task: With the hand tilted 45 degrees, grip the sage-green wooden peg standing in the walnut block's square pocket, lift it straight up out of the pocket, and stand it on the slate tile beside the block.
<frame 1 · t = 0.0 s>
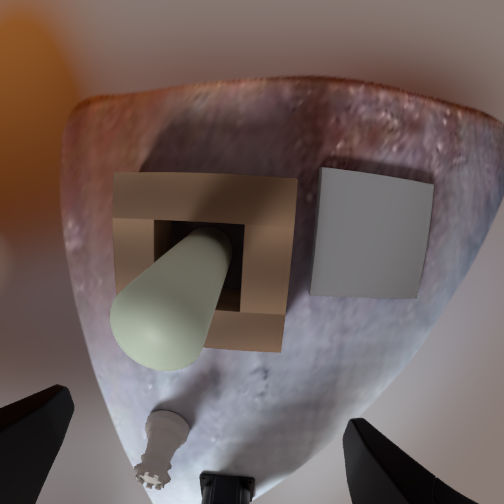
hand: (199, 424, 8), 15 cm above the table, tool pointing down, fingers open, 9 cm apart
walnut pocket block: (207, 251, 22), on the table
sage peg: (189, 277, 16), in the walnut pocket block
rook chess piece: (169, 421, 26), on the table
slate tile: (372, 235, 21), on the table
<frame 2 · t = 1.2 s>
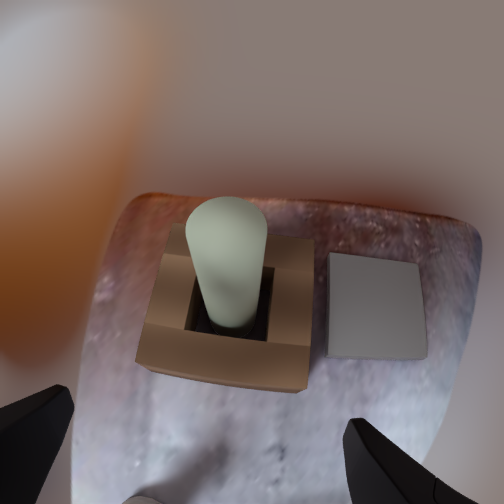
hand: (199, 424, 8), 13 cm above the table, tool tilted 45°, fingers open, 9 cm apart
walnut pocket block: (232, 317, 23), on the table
sage peg: (230, 285, 18), in the walnut pocket block
slate tile: (375, 309, 24), on the table
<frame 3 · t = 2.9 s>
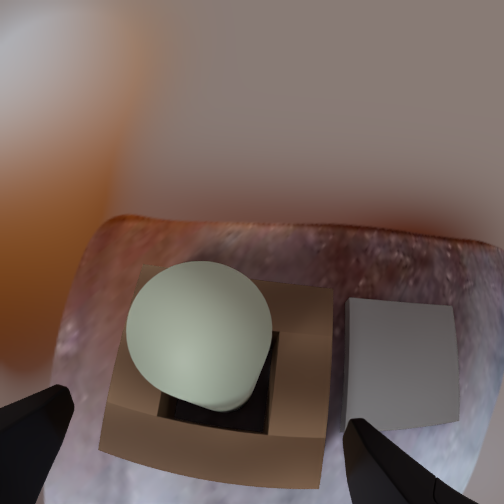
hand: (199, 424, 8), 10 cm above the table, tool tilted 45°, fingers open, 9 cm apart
walnut pocket block: (223, 384, 17), on the table
sage peg: (216, 368, 12), in the walnut pocket block
slate tile: (403, 366, 18), on the table
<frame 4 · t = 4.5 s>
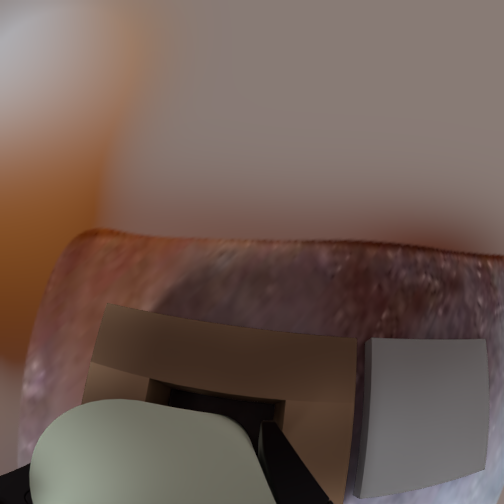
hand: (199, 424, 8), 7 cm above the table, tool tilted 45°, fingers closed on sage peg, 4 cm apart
walnut pocket block: (214, 446, 13), on the table
sage peg: (198, 463, 7), in the walnut pocket block, touching gripper
slate tile: (429, 414, 13), on the table
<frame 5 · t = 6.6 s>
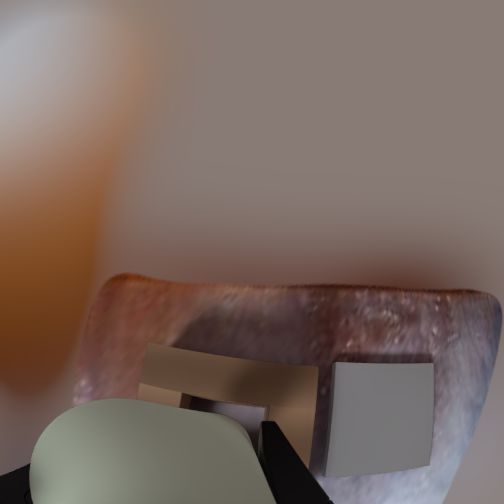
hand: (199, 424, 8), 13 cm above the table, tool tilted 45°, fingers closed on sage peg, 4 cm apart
walnut pocket block: (223, 437, 18), on the table
sage peg: (198, 463, 7), point 13 cm above the table, touching gripper
slate tile: (381, 419, 19), on the table
when the fingers open (9 cm above the table, at t = 9.0 s): sage peg drops 1 cm, resting on slate tile.
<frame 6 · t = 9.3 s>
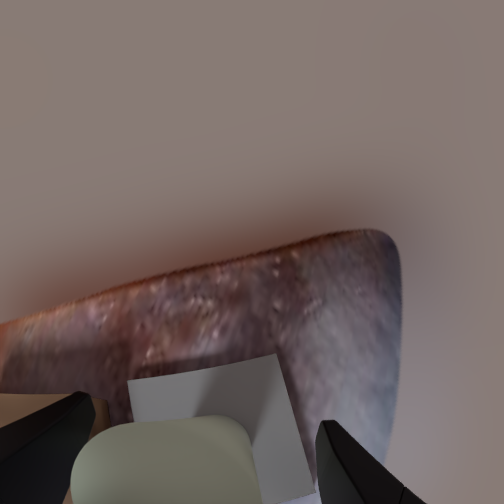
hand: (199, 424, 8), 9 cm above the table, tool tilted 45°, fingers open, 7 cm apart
walnut pocket block: (54, 476, 12), on the table
sage peg: (203, 462, 9), on the slate tile, point 7 cm above the table
slate tile: (218, 442, 15), on the table
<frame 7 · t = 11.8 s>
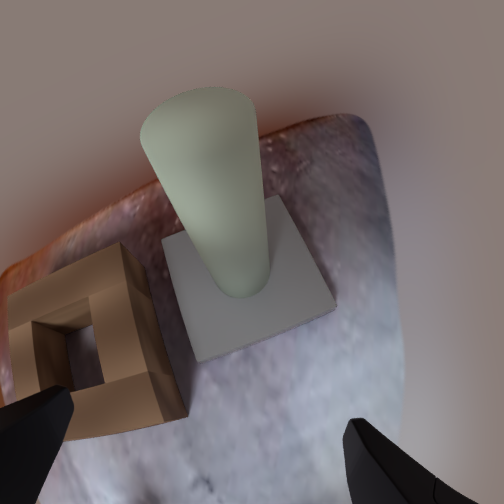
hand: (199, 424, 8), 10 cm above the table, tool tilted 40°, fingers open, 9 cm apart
walnut pocket block: (96, 359, 18), on the table
sage peg: (226, 221, 14), on the slate tile, point 7 cm above the table
slate tile: (243, 276, 20), on the table
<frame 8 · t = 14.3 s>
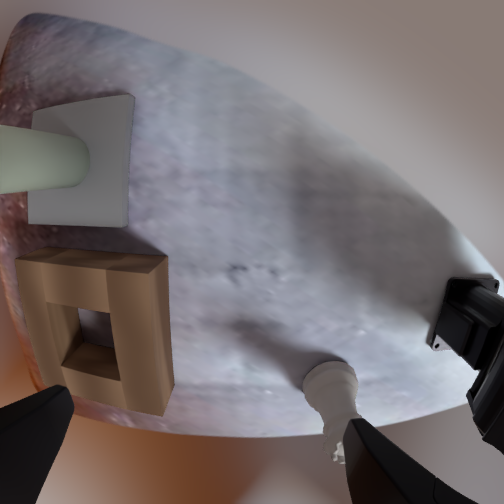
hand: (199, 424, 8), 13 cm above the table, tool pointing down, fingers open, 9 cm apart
walnut pocket block: (105, 318, 21), on the table
sage peg: (13, 159, 12), on the slate tile, point 7 cm above the table
rook chess piece: (328, 378, 22), on the table
slate tile: (77, 162, 18), on the table
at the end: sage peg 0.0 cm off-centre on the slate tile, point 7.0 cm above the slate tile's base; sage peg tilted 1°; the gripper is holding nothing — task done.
